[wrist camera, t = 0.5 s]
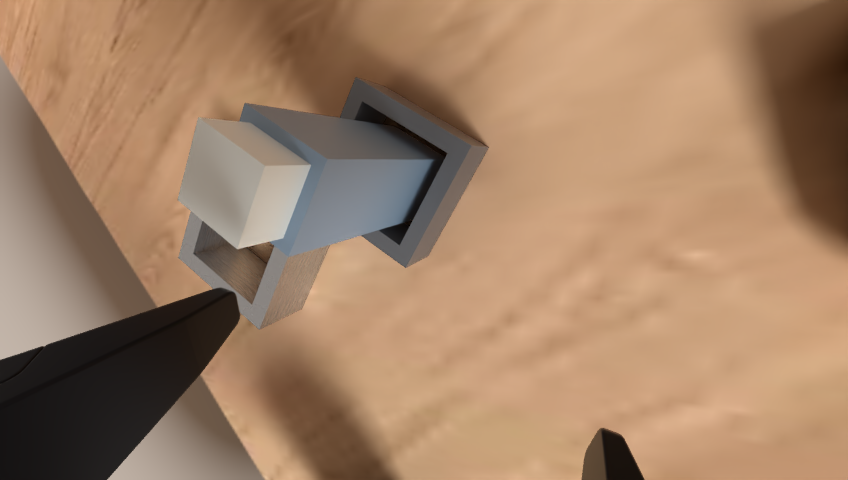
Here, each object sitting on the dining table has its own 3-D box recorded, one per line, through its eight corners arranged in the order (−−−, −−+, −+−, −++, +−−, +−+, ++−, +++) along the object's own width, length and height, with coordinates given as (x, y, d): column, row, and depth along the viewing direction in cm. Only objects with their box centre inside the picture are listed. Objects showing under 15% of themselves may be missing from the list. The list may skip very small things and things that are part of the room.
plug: (418, 218, 24) (243, 270, 13) (368, 184, 25) (165, 204, 14) (449, 159, 23) (282, 159, 11) (395, 126, 24) (191, 94, 12)
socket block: (301, 309, 30) (254, 332, 26) (226, 246, 32) (172, 258, 28) (343, 214, 27) (296, 223, 23) (256, 152, 29) (201, 151, 25)
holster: (427, 256, 24) (405, 267, 22) (339, 193, 26) (308, 197, 24) (488, 147, 22) (471, 145, 19) (384, 86, 24) (355, 77, 21)
